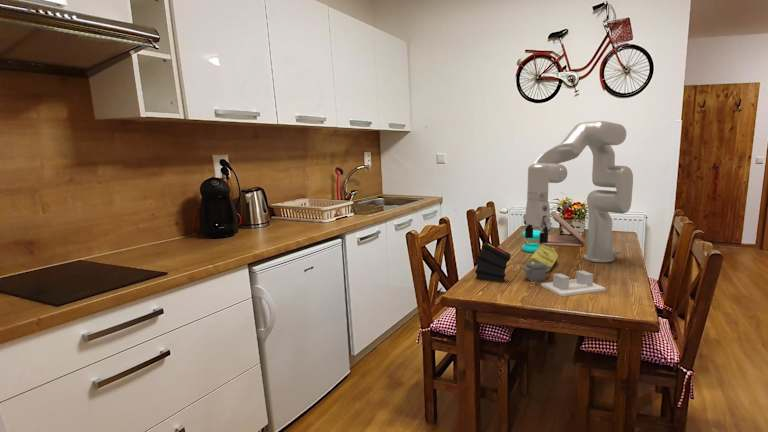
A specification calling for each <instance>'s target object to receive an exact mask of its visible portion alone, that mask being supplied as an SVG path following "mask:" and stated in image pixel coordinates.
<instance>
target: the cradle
mask: <svg viewBox="0 0 768 432" xmlns="http://www.w3.org/2000/svg"><path fill="white" fill-rule="evenodd" d="M575 275H576V278H574V279H573V278H572V279H570V276H567V275H565V274H563V273H560V272H559V273H553V274H552V281H551V282H550V281H548V282H542V283H541V284H540V286H541V287H542V288H544V289H546V290H548V291H550V292H552V293H554V294H556V295H558V296H560V297H567V296H568V297H569V296H575V295H583V294H591V293H597V292H598V293H599V292H605V291H606V287H604V286H602V285H600V284H599V285H598V284H597V283H594V274H593V273H590V272H588V271H586V270H577V271H576V274H575Z"/></svg>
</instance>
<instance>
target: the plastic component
mask: <svg viewBox="0 0 768 432" xmlns="http://www.w3.org/2000/svg"><path fill="white" fill-rule="evenodd" d="M558 257H559V255H558V253H557V251H555V250H554V248H553V249H552V248H551V247H549V246H548V245H543V244H541V245H540V246H539V248H538V249H537V250H536V251H535V253H532V255H531V256H530V257H529V258H528V260H527V261H526V263H525V264H524V265H523V267H525V266H527V264H530V263H531V262H535V263H539V262H540V263H542V264H546V265H548V266H551V268H550V269H546V273H549V272H550V271H551V270H552V268H553V266H554V264H555V263H556V260H558Z"/></svg>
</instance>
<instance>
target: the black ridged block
mask: <svg viewBox="0 0 768 432" xmlns="http://www.w3.org/2000/svg"><path fill="white" fill-rule="evenodd" d="M481 247H482V249H481V251H480V253H479V255H477V265H476V269H475V270H474V271H475V274H476V275H475V278H476V279H477V280H487V281H495V282H504V280H505V277H506V269H507V267H508V266H507V264H508V262H509V261H510V260H511V256H512V254H511V253H509V252H508V251H505V250H503V249H502V248H500V247H497V246H495V245H494V244H492V243H490V242H489V241H486V242H485V243H484V244H483V245H482V246H481Z"/></svg>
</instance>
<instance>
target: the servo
mask: <svg viewBox="0 0 768 432" xmlns="http://www.w3.org/2000/svg"><path fill="white" fill-rule="evenodd" d="M550 268H551V266H548V265H546V264H542V263H540V262H539V263H535V262H531V263H530V264H527V266H525V267H524V266H520V269H522V270H524V271H525V275H526V277H525V278H526V279H527V280H529V281H531V282H538V281H545V280H546V277H547V275H546V273H547V272H546V269H550ZM551 269H552V268H551ZM551 269H550V270H551Z"/></svg>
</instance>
